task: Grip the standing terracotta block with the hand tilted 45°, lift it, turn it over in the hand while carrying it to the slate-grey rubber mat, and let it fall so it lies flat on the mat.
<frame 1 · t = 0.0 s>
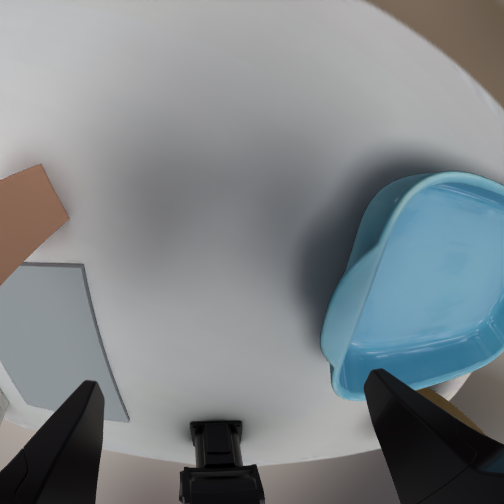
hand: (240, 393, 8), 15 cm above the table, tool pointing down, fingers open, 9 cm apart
plant pot: (405, 400, 38), on the table
casserole dish: (446, 270, 28), on the table
mat: (44, 353, 24), on the table
block: (34, 206, 18), on the table
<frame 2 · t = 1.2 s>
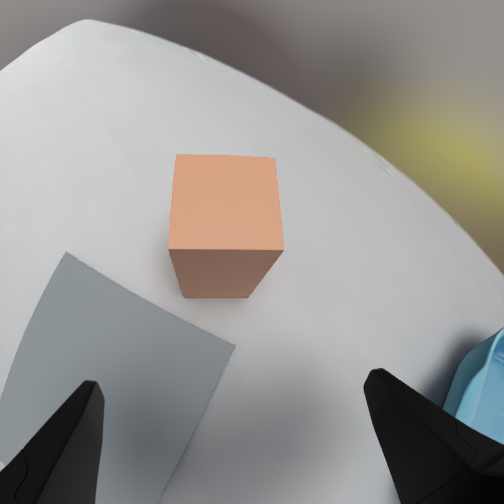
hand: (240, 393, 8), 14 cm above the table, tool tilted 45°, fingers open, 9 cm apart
casserole dish: (490, 437, 22), on the table
mat: (86, 415, 18), on the table
block: (215, 267, 24), on the table
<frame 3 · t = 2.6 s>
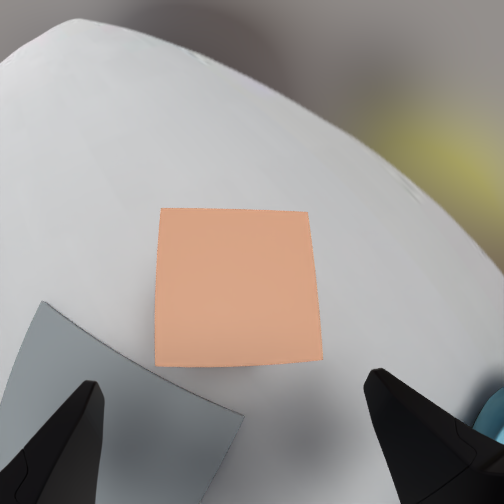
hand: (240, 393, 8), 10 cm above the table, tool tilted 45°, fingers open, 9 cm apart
casserole dish: (503, 470, 17), on the table
mat: (80, 481, 13), on the table
block: (219, 323, 19), on the table
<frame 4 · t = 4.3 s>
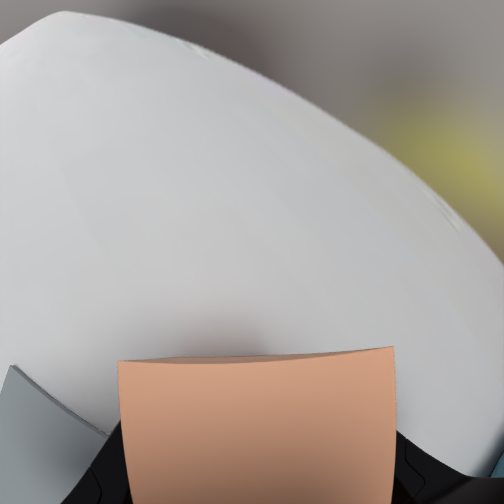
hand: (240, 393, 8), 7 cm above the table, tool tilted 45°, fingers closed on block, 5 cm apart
block: (226, 402, 14), on the table, touching gripper
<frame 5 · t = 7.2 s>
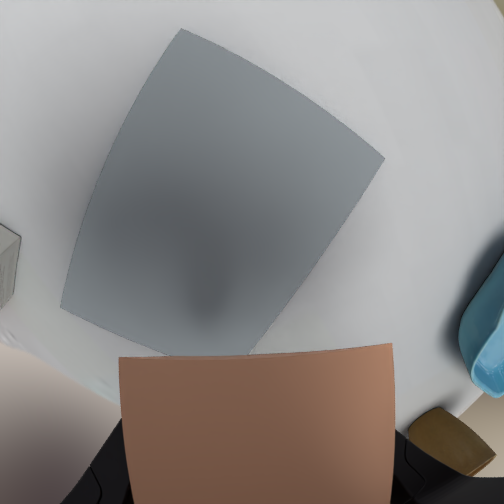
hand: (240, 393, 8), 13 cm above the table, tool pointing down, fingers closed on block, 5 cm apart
plant pot: (423, 419, 40), on the table
mat: (204, 232, 20), on the table
block: (225, 401, 14), point 9 cm above the table, tilted 44°, touching gripper
when the fingers open (7 cm above the table, at t = 9.6 s): block moves 2 cm and tips over, resting on mat.
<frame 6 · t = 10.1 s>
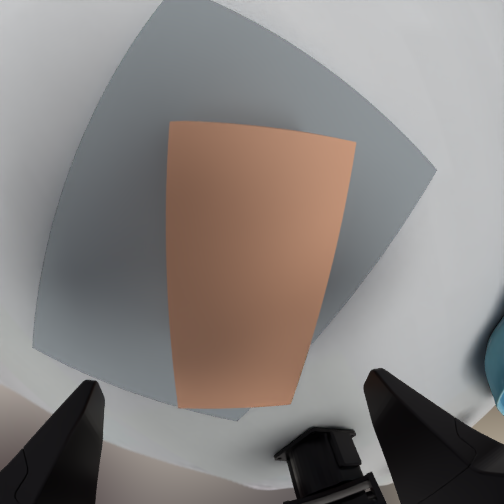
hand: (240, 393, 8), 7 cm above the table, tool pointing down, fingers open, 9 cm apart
mat: (205, 265, 15), on the table
block: (230, 368, 14), point 3 cm above the table, tilted 90°, touching mat
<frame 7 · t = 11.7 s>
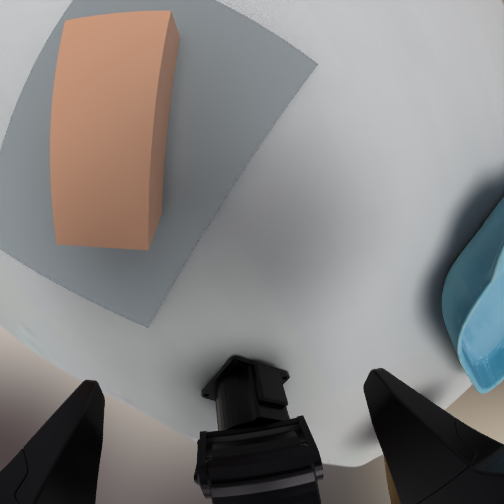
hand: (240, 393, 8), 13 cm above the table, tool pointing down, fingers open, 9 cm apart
casserole dish: (497, 286, 29), on the table
mat: (109, 146, 16), on the table
block: (113, 227, 15), point 3 cm above the table, tilted 90°, touching mat
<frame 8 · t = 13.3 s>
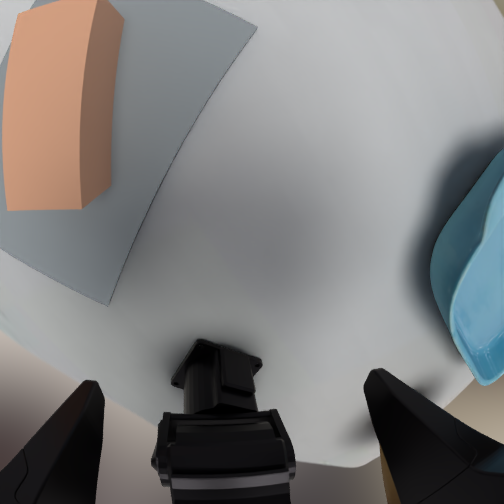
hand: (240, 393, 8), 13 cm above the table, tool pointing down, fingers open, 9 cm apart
plant pot: (397, 407, 36), on the table
casserole dish: (494, 266, 27), on the table
mat: (65, 125, 15), on the table
block: (61, 196, 14), point 3 cm above the table, tilted 90°, touching mat
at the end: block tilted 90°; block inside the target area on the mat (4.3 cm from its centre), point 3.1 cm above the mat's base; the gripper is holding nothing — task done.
